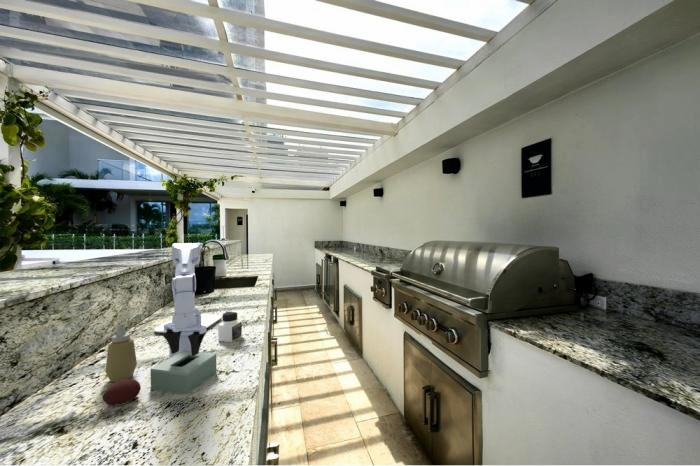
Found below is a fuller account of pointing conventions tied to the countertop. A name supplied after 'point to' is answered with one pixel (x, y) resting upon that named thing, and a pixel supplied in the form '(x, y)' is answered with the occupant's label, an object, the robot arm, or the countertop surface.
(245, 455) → the countertop surface
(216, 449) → the countertop surface
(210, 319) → the plate
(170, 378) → the box
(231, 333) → the medicine bottle
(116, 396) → the potato
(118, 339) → the squeeze bottle
